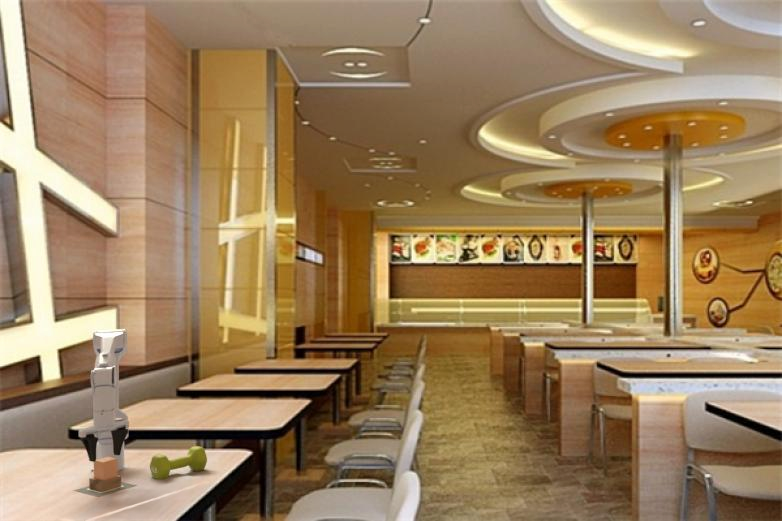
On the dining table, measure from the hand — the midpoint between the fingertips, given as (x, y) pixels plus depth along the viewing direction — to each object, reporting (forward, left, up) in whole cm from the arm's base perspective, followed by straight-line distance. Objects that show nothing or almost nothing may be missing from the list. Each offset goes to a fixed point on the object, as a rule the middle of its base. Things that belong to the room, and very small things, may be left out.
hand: (104, 457), depth 193 cm
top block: (0, 0, -5) cm, 5 cm away
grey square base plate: (0, 0, -9) cm, 9 cm away
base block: (0, 0, -8) cm, 8 cm away
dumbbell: (+6, +21, -9) cm, 24 cm away
